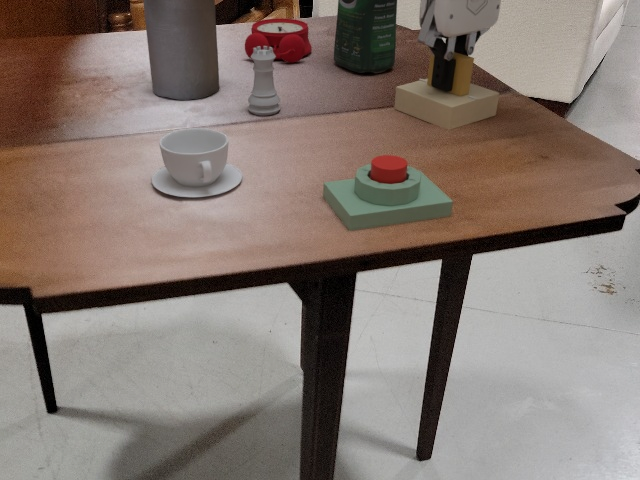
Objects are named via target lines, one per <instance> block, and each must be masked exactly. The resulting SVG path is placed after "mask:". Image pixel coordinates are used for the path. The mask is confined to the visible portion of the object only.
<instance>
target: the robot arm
mask: <svg viewBox="0 0 640 480" xmlns="http://www.w3.org/2000/svg"><path fill="white" fill-rule="evenodd" d="M501 2H502V0H420V4H419V15H418V19H419V28H420V30H419V33H418V36H417V43H419V44H421V45H425V46H427V47H428V48H429V49H430V55H431V54H432V55H433V56H434V64H433V73H432V81H431V85H432V87H434V88H437V89H440V90H442V91H445V92H449V91H451V90H452V86H453V79H454V72H455V65H456V60H455V59H452V58H453V55H454V52H456V53H459V54H463V55H466V56H472V55H473V54H474V52H475V46H476V44H477V42H478V41H479V40H480V38H481V37H482V36H483V35H484V34H485V33H487V32H488V31H489V30H491V28H492V27H493V26H495V25H496V24H497V22H498V19H499V15H500V9H501ZM444 39H445V41H444Z"/></svg>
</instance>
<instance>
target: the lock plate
mask: <svg viewBox="0 0 640 480" xmlns="http://www.w3.org/2000/svg"><path fill="white" fill-rule="evenodd" d="M427 80H428V77H427V78H424V79H423V78H418V80H416V81H413V82H409V83H405V84H402V85H397V86H396V87H395V97H394V107H393V108H394V110H396V111H399V112H401V113H404V114H406V115H409V116H411V117H414V118H416V119H419V120H422V121H425V122H426V123H428V124H431V125H433V126H434V125H435V126H437V127H440V128H442V129H445V130H447V131H451V130H453V129H456V128H457V129H458V128H460V127H463V126H466V125H469V124H474V123H477V122H479V121H480V122H481V121H483V120H486V119H489V118H492V117H496V115H497V110H498V103H499V98H500V92H498V91H495V90H492V89H489V88H487V87H483V86H480V85H477V84H475V83H472V82H470V88H469V94H466V95H463V96H458V95H455V94H453V93H450V92H445V91H442V90H440V89H437V88H434V87H432V86H430V85H427Z"/></svg>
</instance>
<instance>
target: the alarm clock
mask: <svg viewBox="0 0 640 480" xmlns="http://www.w3.org/2000/svg"><path fill="white" fill-rule="evenodd" d="M250 29H251V34H249V35H248V36H247V37H246V39H245V41H244V51H245V54H246V55H247V57H248V59H250V60H252V58H251V55H252V54H253V48H256V50H257V47H258V46H260V47H261V50H264V46H267V50H269V47H272V49H273V53H274V54H275V56H276V57H275V59H274V60H282V61H284V62H285V63H290V64H293V63H298V62H299V61H301V60H302V59H303V57H305V56H307V55H309V54H311V52H312V50H313V47H312V44H311V42H310V39H309V25H308V23H307V22H305V21H302V20H298V19H293V18H268V19H261V20H258V21H256V22H254V23H252V25H251V28H250Z"/></svg>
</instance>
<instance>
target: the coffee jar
mask: <svg viewBox="0 0 640 480" xmlns="http://www.w3.org/2000/svg"><path fill="white" fill-rule="evenodd" d="M397 10H398V0H337V13H336V27H335V37H334V45H333V46H334V47H333V61H334V63H336V65H338V66H340V67H342V68H345V69H347V70H349V71H352V72H356V73H373V74H379V73H384V72H386V71H387V70H390V69H391V68H393V67H394V66H395V62H396V61H395V60H396V49H397V45H396V44H397V42H396V41H397V14H398V11H397Z"/></svg>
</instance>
